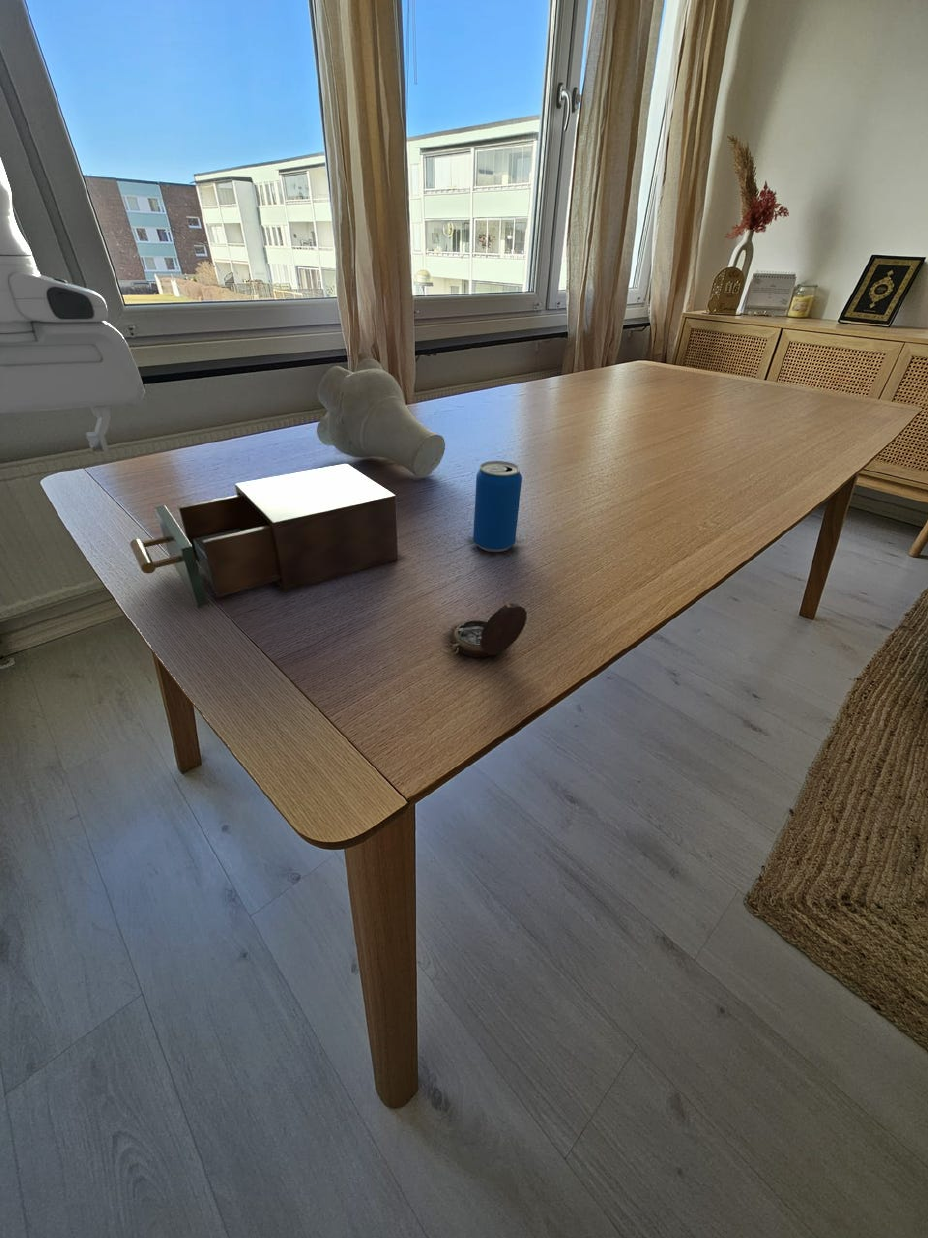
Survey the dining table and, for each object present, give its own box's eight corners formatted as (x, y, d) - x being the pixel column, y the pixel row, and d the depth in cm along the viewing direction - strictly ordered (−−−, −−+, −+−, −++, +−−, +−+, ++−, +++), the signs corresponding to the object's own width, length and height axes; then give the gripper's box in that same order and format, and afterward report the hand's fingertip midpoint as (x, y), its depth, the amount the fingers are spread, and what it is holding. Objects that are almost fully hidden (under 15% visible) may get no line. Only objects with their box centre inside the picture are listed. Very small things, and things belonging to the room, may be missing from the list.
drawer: (160, 618, 61) (139, 558, 56) (137, 569, 70) (117, 513, 65) (321, 572, 71) (314, 518, 66) (283, 534, 80) (275, 484, 75)
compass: (478, 620, 65) (482, 567, 61) (525, 652, 60) (532, 598, 56) (425, 644, 61) (426, 590, 56) (472, 681, 56) (475, 625, 52)
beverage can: (522, 550, 81) (531, 472, 74) (484, 557, 78) (490, 477, 71) (502, 532, 85) (508, 457, 78) (465, 538, 83) (469, 462, 76)
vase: (496, 406, 100) (392, 345, 110) (420, 405, 83) (307, 334, 93) (458, 508, 112) (368, 445, 122) (385, 524, 96) (288, 451, 105)
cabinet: (285, 592, 68) (273, 522, 63) (247, 547, 78) (234, 483, 72) (398, 559, 77) (395, 495, 71) (351, 522, 86) (346, 463, 81)
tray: (217, 584, 65) (212, 567, 64) (197, 555, 71) (192, 538, 70) (265, 571, 68) (262, 554, 67) (242, 544, 74) (239, 528, 73)
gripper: (-205, 295, 38) (-100, 484, 45) (124, 299, 48) (163, 452, 56) (-187, 288, 42) (-93, 463, 50) (112, 293, 52) (151, 437, 60)
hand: (45, 457), depth 53 cm, fingers open, 8 cm apart
